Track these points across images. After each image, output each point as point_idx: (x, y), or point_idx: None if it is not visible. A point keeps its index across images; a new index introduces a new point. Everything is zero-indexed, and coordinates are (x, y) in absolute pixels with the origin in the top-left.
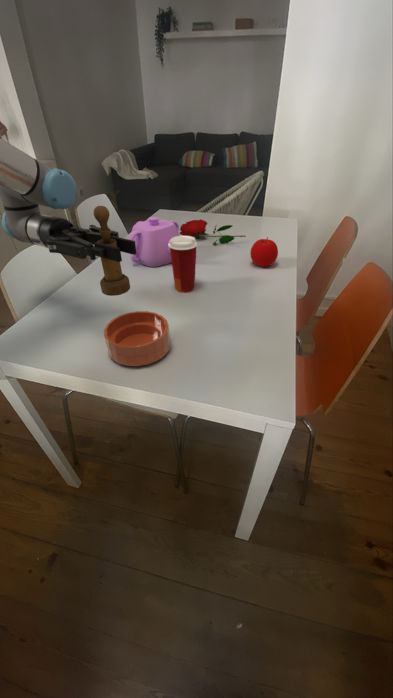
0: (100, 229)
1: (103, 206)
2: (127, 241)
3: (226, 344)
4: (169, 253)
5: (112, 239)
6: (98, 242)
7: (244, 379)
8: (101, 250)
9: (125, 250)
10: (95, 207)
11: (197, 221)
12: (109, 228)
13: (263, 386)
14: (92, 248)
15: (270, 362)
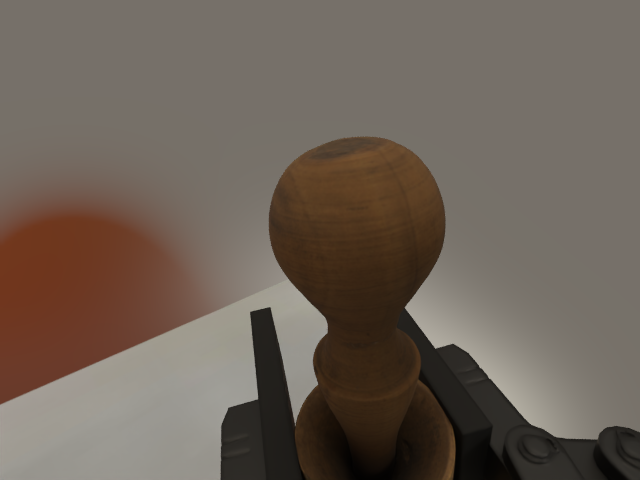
0: (405, 347)
1: (315, 149)
2: (275, 334)
3: (230, 386)
4: None
5: (303, 456)
6: (441, 468)
7: (293, 318)
8: (455, 346)
9: (289, 399)
10: (401, 159)
11: None
12: (313, 357)
13: (288, 301)
14: (513, 410)
15: (235, 321)
